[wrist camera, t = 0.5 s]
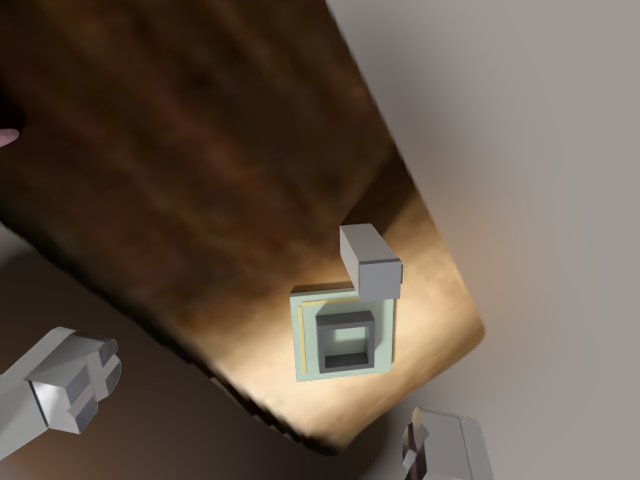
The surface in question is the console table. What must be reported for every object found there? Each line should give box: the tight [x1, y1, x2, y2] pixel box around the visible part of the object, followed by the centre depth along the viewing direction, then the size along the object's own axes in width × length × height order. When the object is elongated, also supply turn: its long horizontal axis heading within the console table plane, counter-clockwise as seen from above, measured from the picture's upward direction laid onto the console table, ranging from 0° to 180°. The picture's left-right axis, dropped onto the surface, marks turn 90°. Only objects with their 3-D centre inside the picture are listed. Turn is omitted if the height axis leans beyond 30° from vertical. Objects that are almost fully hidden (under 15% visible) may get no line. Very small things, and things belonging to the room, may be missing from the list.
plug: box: [340, 223, 403, 302], centre depth 42 cm, size 4×5×12 cm
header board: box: [290, 288, 394, 382], centre depth 51 cm, size 14×14×4 cm
